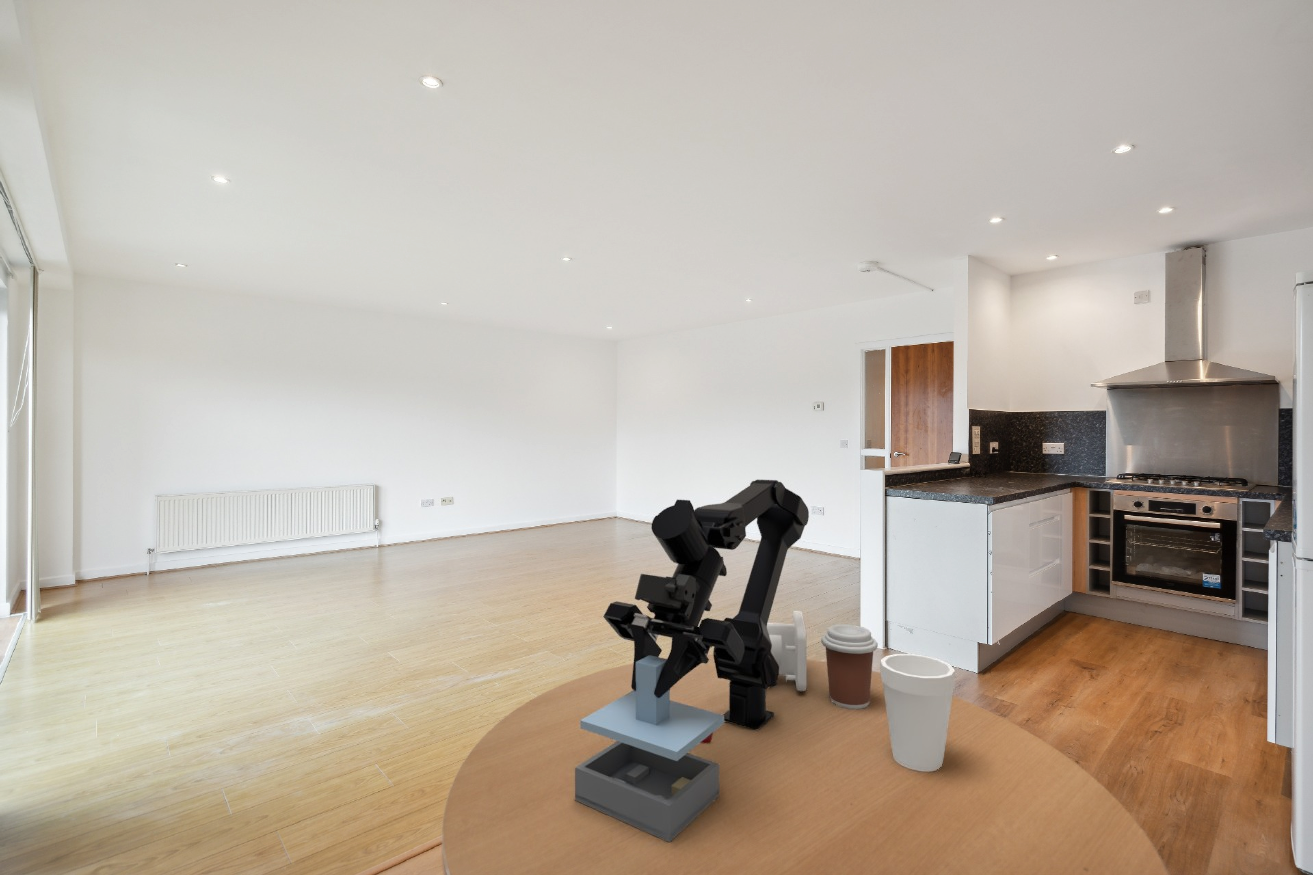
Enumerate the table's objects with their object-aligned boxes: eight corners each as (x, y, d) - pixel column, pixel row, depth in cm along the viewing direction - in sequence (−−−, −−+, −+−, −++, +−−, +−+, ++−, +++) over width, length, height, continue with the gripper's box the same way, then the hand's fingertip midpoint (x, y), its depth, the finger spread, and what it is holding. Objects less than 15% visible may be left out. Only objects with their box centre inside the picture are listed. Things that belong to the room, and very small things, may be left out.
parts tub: (629, 762, 85) (629, 733, 85) (719, 795, 77) (719, 763, 77) (575, 800, 76) (575, 767, 76) (669, 842, 68) (669, 805, 68)
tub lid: (633, 697, 85) (633, 638, 86) (724, 723, 78) (724, 658, 78) (580, 728, 76) (580, 662, 76) (676, 760, 69) (676, 688, 69)
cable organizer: (807, 699, 106) (807, 631, 106) (745, 695, 108) (744, 628, 108) (802, 668, 121) (802, 608, 121) (747, 665, 123) (747, 606, 123)
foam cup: (954, 751, 88) (954, 659, 88) (955, 784, 80) (955, 682, 80) (883, 738, 92) (883, 650, 92) (877, 767, 84) (877, 671, 84)
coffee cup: (876, 693, 109) (875, 624, 109) (879, 715, 100) (879, 640, 100) (822, 687, 111) (821, 620, 111) (821, 708, 103) (820, 635, 103)
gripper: (611, 542, 85) (555, 644, 76) (733, 556, 75) (685, 677, 66) (645, 588, 92) (597, 687, 83) (761, 607, 81) (721, 723, 72)
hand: (645, 693), depth 76 cm, fingers closed on tub lid, 3 cm apart
